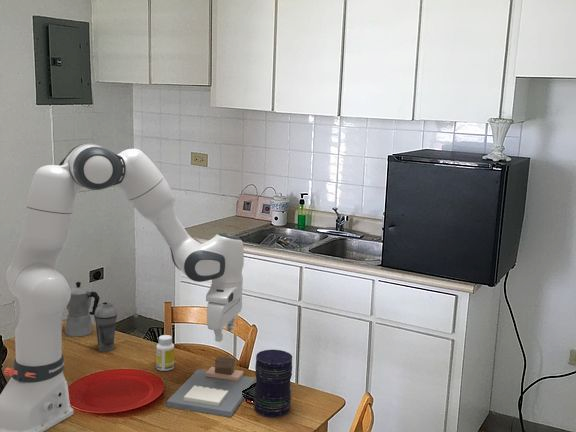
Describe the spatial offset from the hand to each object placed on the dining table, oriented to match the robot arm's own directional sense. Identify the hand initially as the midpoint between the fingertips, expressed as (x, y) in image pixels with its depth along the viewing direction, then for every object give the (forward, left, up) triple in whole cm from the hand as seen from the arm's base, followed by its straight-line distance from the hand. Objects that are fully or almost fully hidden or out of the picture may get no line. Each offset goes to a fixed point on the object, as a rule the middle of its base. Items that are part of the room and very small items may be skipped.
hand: (224, 335), depth 186 cm
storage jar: (-12, -18, -14) cm, 26 cm away
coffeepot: (+20, +59, -14) cm, 64 cm away
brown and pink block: (0, 0, -12) cm, 12 cm away
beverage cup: (+10, +44, -14) cm, 47 cm away
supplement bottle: (+3, +20, -14) cm, 25 cm away
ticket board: (-9, 0, -14) cm, 17 cm away
